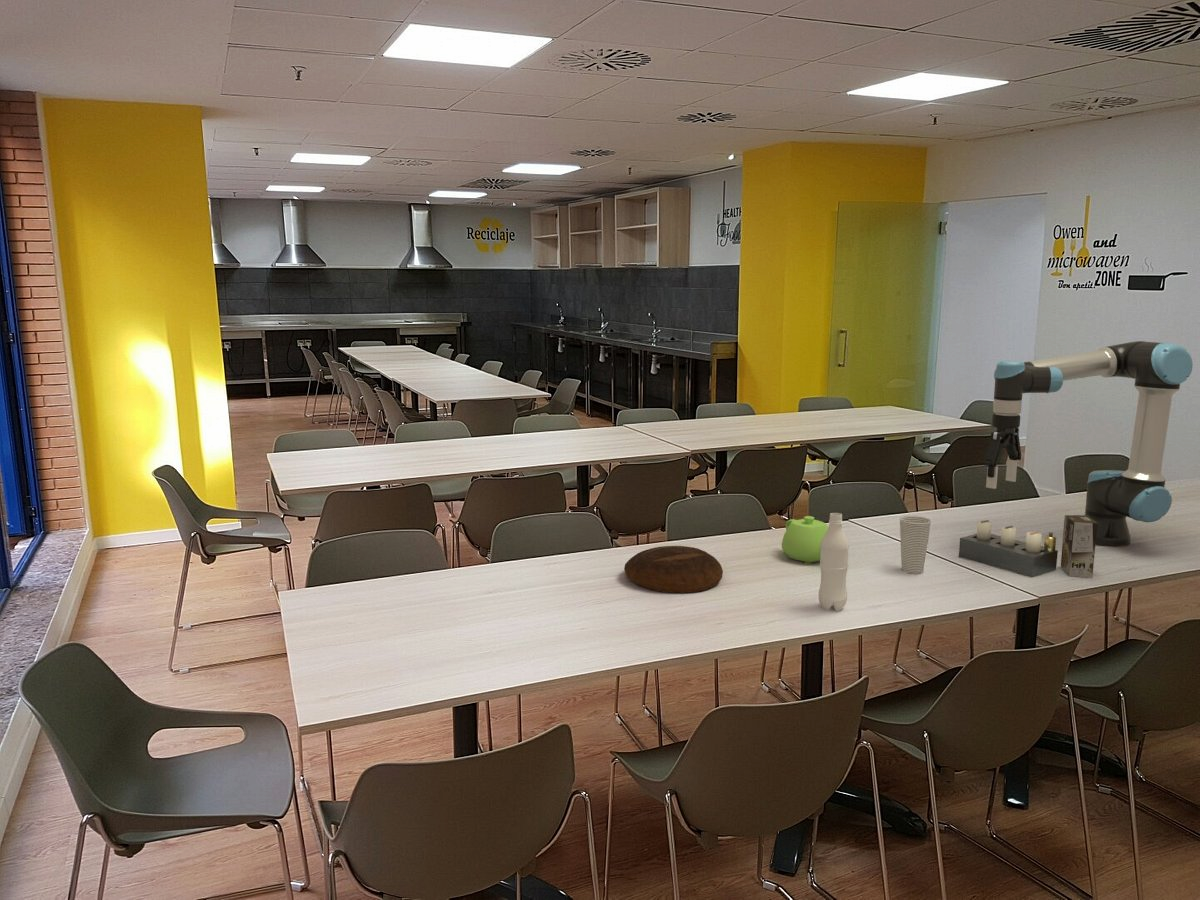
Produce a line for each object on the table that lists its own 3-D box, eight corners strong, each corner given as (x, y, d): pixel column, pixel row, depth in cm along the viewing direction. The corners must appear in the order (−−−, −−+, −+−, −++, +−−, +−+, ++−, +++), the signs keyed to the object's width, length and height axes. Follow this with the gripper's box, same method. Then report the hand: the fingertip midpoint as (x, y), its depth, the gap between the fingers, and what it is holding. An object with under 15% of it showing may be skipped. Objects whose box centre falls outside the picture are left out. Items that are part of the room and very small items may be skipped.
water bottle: (814, 603, 236) (817, 511, 232) (840, 602, 237) (844, 510, 232) (823, 612, 229) (826, 518, 225) (850, 611, 230) (854, 517, 225)
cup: (927, 567, 264) (930, 517, 262) (928, 576, 257) (931, 524, 254) (897, 565, 267) (900, 514, 264) (896, 573, 259) (899, 522, 256)
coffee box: (1093, 578, 254) (1098, 523, 251) (1068, 576, 256) (1073, 522, 253) (1083, 568, 263) (1088, 514, 260) (1059, 567, 264) (1064, 514, 261)
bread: (609, 571, 265) (609, 542, 263) (689, 559, 276) (690, 531, 274) (652, 601, 239) (652, 570, 238) (739, 587, 250) (740, 557, 248)
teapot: (855, 564, 269) (856, 521, 266) (819, 572, 261) (820, 529, 259) (802, 546, 287) (803, 507, 285) (767, 554, 279) (768, 513, 277)
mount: (982, 550, 281) (983, 531, 280) (1056, 570, 261) (1057, 550, 260) (958, 556, 275) (959, 537, 274) (1032, 577, 255) (1033, 557, 254)
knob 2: (1005, 546, 270) (1006, 524, 269) (1017, 549, 267) (1019, 527, 266) (997, 548, 268) (998, 526, 267) (1009, 551, 265) (1011, 529, 263)
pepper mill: (1047, 548, 263) (1048, 530, 262) (1057, 550, 260) (1058, 533, 259) (1041, 549, 261) (1042, 532, 260) (1051, 552, 259) (1052, 534, 258)
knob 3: (1030, 552, 263) (1031, 530, 262) (1043, 555, 260) (1044, 533, 259) (1022, 554, 261) (1023, 532, 260) (1034, 558, 258) (1036, 535, 257)
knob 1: (981, 540, 277) (982, 518, 275) (993, 543, 273) (994, 521, 272) (973, 542, 275) (974, 520, 273) (985, 545, 271) (986, 523, 270)
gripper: (1011, 408, 274) (1006, 476, 277) (974, 416, 257) (969, 488, 261) (1036, 410, 268) (1031, 480, 272) (1001, 419, 252) (995, 493, 255)
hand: (1001, 484), depth 266 cm, fingers open, 13 cm apart
